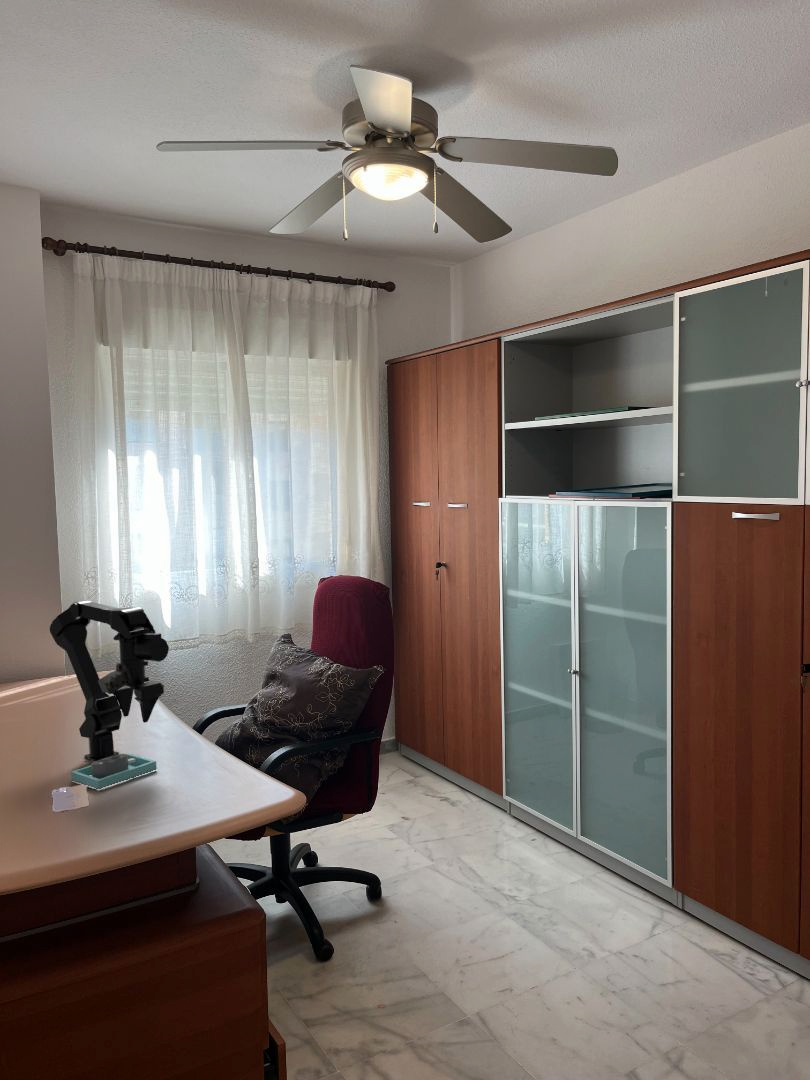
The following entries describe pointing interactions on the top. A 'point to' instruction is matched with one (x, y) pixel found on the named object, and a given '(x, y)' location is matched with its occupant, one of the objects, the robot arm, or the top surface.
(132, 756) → the desk tray
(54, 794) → the mobile phone
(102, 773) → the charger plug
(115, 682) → the robot arm
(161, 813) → the top surface
